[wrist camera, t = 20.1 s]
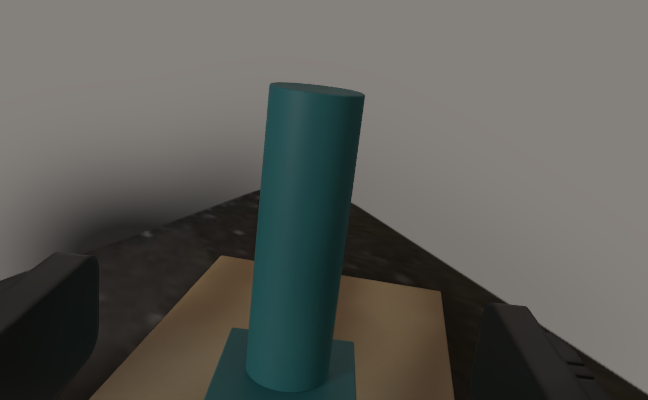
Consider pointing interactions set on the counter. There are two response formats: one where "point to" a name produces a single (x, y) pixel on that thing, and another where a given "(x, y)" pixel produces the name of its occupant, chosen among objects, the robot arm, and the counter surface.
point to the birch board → (350, 325)
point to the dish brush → (298, 253)
